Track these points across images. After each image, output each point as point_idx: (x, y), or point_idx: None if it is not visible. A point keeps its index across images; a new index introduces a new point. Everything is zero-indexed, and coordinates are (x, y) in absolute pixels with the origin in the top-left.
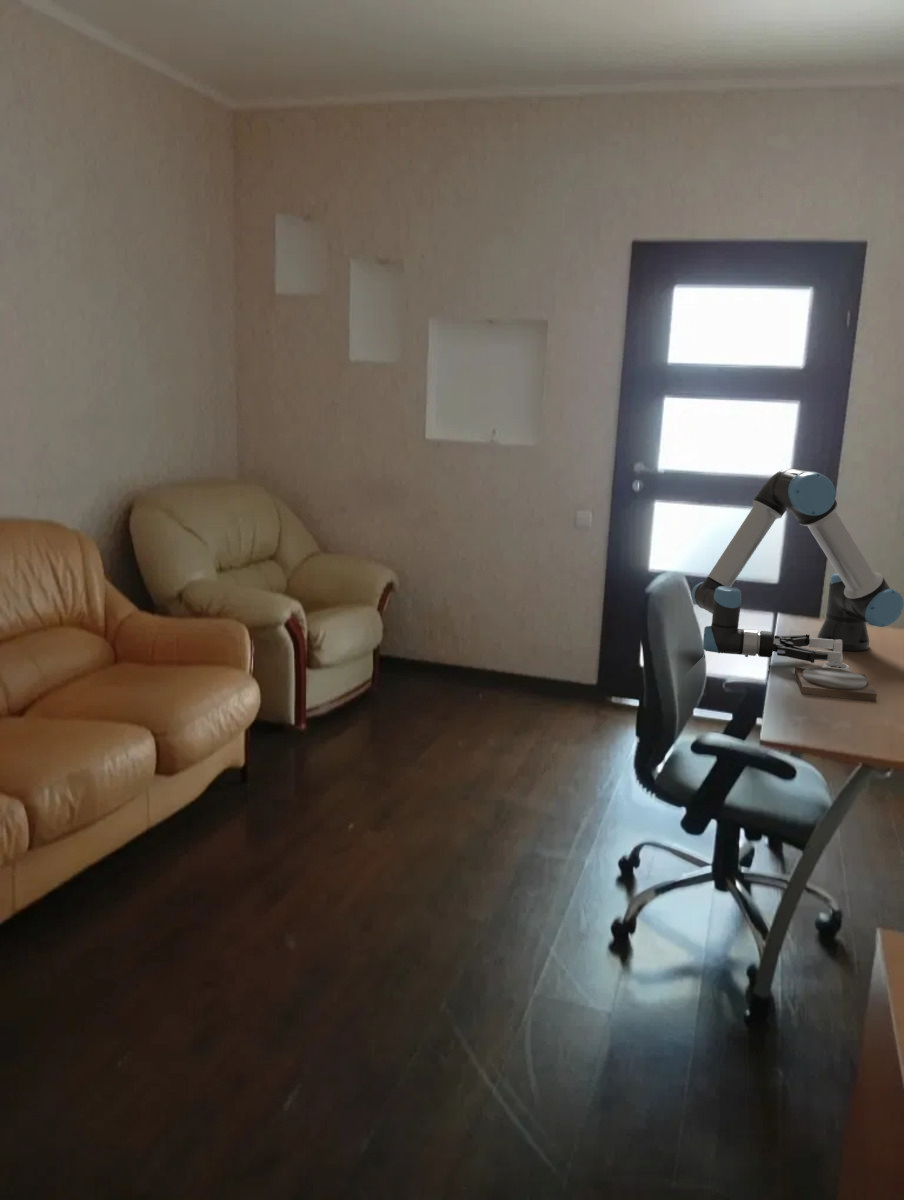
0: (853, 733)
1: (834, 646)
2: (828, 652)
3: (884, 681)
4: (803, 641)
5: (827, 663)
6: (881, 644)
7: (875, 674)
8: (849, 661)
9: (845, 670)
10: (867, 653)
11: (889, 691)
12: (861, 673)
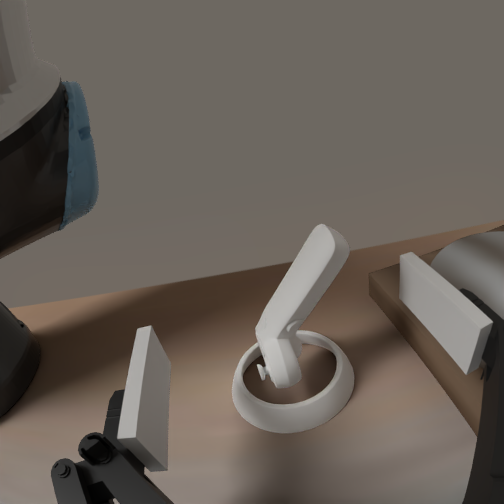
0: None
1: (326, 284)
2: (445, 284)
3: None
4: (157, 491)
5: (264, 405)
6: None
7: (269, 293)
8: None
9: None
10: (57, 335)
11: (413, 244)
12: (374, 277)
